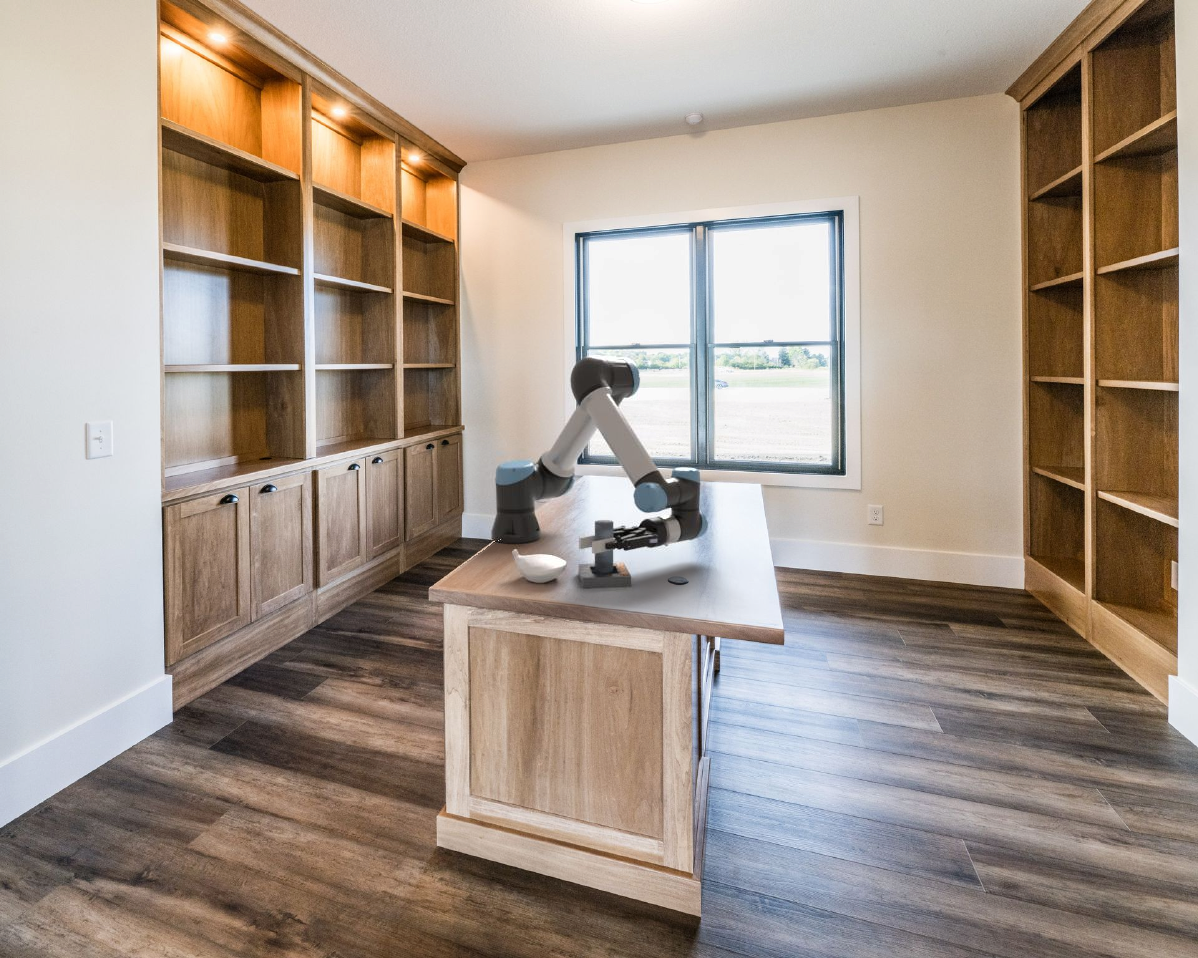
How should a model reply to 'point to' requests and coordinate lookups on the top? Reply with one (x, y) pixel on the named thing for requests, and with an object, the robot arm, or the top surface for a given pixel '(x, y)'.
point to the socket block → (604, 576)
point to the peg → (605, 558)
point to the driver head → (539, 566)
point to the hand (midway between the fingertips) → (586, 545)
